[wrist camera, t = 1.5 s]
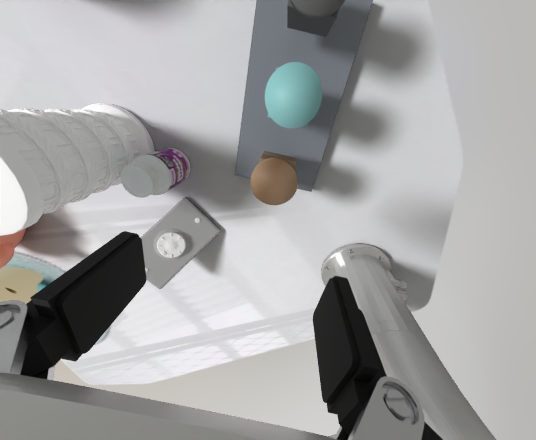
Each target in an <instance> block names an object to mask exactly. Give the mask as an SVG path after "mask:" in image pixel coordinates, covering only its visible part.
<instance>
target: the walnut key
mask: <svg viewBox="0 0 536 440" xmlns="http://www.w3.org/2000/svg"><path fill="white" fill-rule="evenodd" d="M296 167H297V165H296V160H295V157H290V156H286V155H281V154H277V153H273V152H268V151H264V152H263V154H262V156H261V158H260V162H259V164H258V165H257V166H256V167H255V169H254V171H253V173H252V175H251V188H252V191H253V193H254V195H255V196H256V197H257V198H258V199H259V200H260V201H262V202H263V203H266V204H269V205H279V204H283V203H285V202H287V201H288V200H290V199H291V198H292V197H293V195H294V194H295V192H296V189H297V184H298V181H297V174H296Z"/></svg>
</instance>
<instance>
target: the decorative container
mask: <svg viewBox="0 0 536 440" xmlns="http://www.w3.org/2000/svg"><path fill="white" fill-rule="evenodd" d="M151 152H155V150H154V144H153V142H152V139H151V137H150V135H149V133H148V131H147V130H146V128H145V127H144V125H143V124H142V123H141V122H140V121H139V120H138V119H137V118H136V117H135V116H134V115H133V114H132V113H130V112H129V111H127V110H126V109H124V108H122V107H119V106H116V105H113V104H102V103H95V104H91V105H88V106H86V107H85V108H83V109H80V110H79V109H75V110H65V109H61V110H60V109H58V108H56V109H47V110H44V111H42V110H35V109H33V108H31V109H27V108H23V109H20V108H17V109H12V110H9V111H5V110H0V236H2V235H9V234H14V233H16V232H18V231H21V230H23V229H25V228H27V227H29V226H31V225H33V224H35V223H36V222H38V220H39V218H40V217H41V215H42V214H47V213H52V212H55V211H57V210H59V209H61V208H62V207H63V206H64V205H66V204H68V203H70V202H77V201H80V200H83V199H85V198H87V197H88V196H89V195H90V194H92V193H98V192H101V191H104V190H106V189H107V188H109V187H110V186H112V185H118V184H120V183H122V182H121V178H120V174H121V171H122V170H123V168H125V167H126V166H129V165H131V163H132V161H133V160H134V159H135V158H136V157H138V156H140V155H144V154H148V153H151Z"/></svg>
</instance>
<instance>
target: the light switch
mask: <svg viewBox="0 0 536 440" xmlns="http://www.w3.org/2000/svg"><path fill="white" fill-rule="evenodd" d="M219 232H220V229H219V228H218V227H217V226H215V225H214V224H213V223H212V222H211V221H210V220H209V219H208V218H207V217H206V216H205V215H204V214H203V213H202V212H201V211H200V210H199V209H198V208H197V207H195V206H194V205H193V204H192V203H191V202H190V201H189V200H188V199H187V198H183V199H182V200H181V201H180V202H179V203H178V204H177V205H175V206H174V207H173V208H172V209H171V210H170V211H169V212H168V213H167V214H166V215H165V216H164V217H162V218H161V219H160V220H159V221H158V222H157V223H156V224H155V225H154V226H153V227H152V228H150V229H149V230H148V231H147V232H146V233H145V234H144V235H143V236H142V237H141V239H142V246H143V254H144V262H145V270H146V280H148V281H149V282H150V283H152V284H153V285H154V286H156V287H157V288H159V289H161V288H163V287H164V286H165V285H166V284H167V283H168V282H169V281H170V280H171V279H172V278H173V277H174V276H175V275H176V274H177V273H178V272H179V271H180V270H181V269H182V268H183V267H184V266H185V265H186V264H187V263H188V262H189V261H190V260H191V259H193V258H194V257H195V256H196V255H197V254H198V253H199V252H200V251H201V250H202V249H203V248H204V247H205V246H206V245H207V244H208V243H209V242H210V241H211V240H212V239H213V238H214V237H215V236H216V235H217V234H218V233H219Z"/></svg>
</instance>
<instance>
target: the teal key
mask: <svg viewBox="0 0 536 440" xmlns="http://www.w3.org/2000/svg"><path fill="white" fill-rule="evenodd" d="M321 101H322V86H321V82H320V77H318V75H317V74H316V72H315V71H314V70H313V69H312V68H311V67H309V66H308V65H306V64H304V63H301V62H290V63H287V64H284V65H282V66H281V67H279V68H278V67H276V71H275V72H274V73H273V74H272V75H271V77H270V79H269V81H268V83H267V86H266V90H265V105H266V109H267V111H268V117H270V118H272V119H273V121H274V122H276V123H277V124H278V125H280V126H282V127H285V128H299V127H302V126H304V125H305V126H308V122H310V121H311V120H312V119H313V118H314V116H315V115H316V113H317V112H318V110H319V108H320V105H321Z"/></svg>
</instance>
